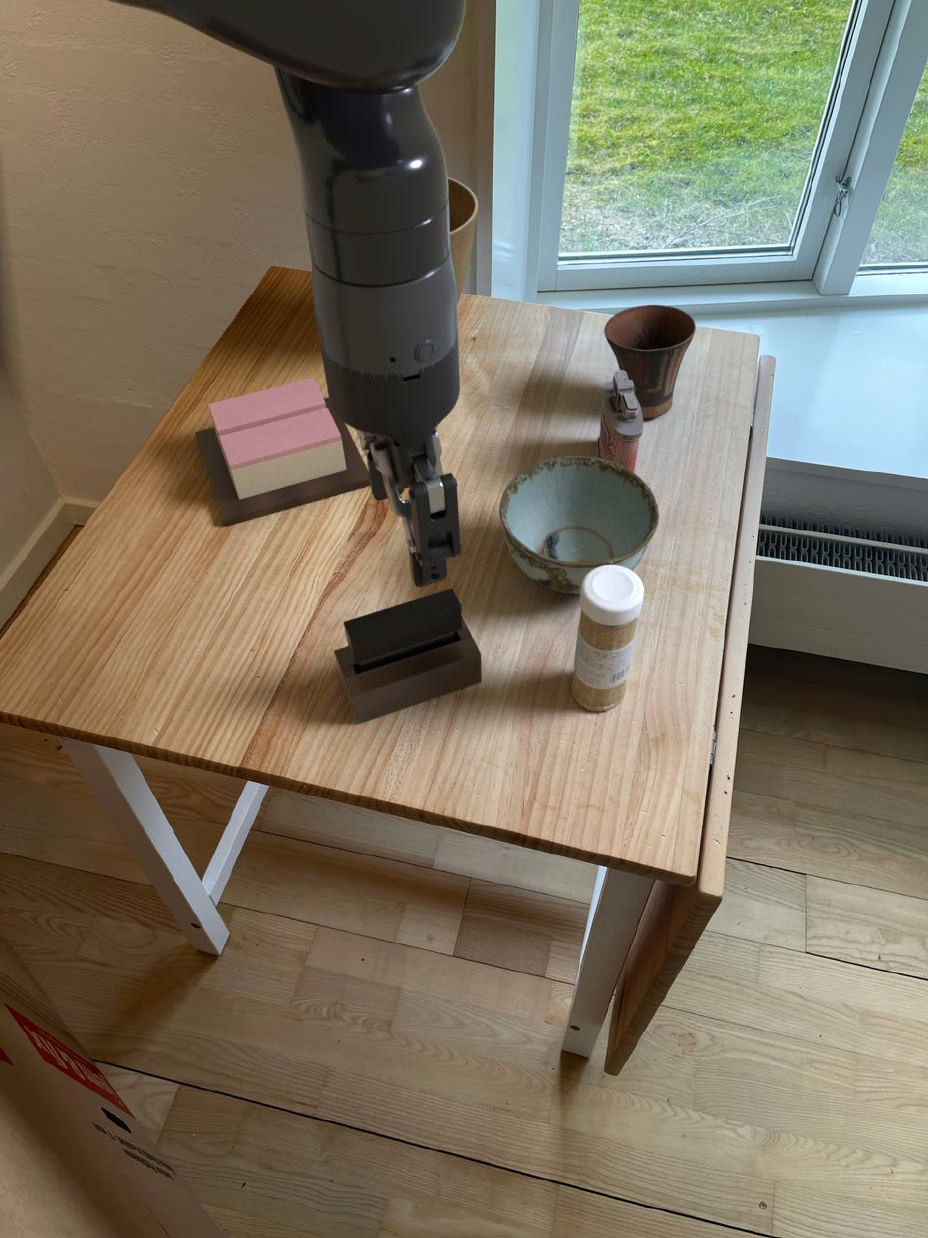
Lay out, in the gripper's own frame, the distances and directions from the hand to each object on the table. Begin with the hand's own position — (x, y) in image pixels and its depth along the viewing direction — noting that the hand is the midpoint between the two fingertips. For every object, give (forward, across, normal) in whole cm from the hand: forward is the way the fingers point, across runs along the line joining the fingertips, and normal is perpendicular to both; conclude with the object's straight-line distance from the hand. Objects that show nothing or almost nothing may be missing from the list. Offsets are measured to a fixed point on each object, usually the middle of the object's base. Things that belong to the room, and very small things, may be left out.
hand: (408, 536), depth 64 cm
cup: (+20, -28, +34) cm, 48 cm away
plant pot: (+20, -48, +16) cm, 55 cm away
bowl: (+20, -8, +18) cm, 28 cm away
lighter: (+20, -20, +27) cm, 39 cm away
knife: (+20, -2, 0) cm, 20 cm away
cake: (+18, -30, -4) cm, 36 cm away
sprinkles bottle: (+20, +5, +14) cm, 24 cm away
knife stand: (+20, -2, 0) cm, 20 cm away
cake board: (+20, -33, -4) cm, 39 cm away
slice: (+18, -36, -4) cm, 40 cm away
